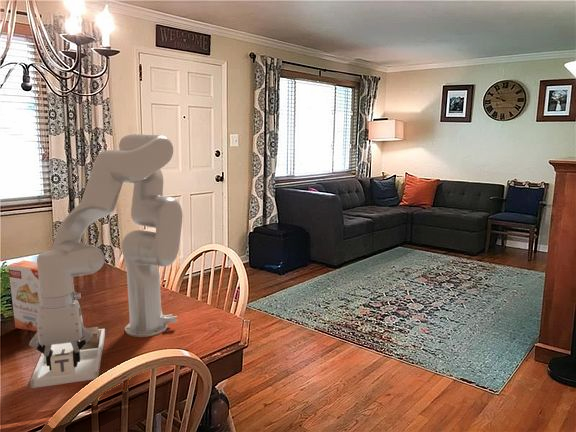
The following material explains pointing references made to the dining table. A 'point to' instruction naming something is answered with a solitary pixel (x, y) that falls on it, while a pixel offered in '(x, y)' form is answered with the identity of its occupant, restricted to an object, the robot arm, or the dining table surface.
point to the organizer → (83, 371)
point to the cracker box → (25, 294)
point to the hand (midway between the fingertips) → (64, 365)
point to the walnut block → (94, 341)
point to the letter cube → (62, 362)
